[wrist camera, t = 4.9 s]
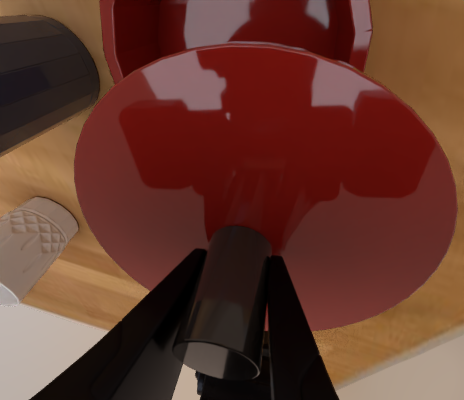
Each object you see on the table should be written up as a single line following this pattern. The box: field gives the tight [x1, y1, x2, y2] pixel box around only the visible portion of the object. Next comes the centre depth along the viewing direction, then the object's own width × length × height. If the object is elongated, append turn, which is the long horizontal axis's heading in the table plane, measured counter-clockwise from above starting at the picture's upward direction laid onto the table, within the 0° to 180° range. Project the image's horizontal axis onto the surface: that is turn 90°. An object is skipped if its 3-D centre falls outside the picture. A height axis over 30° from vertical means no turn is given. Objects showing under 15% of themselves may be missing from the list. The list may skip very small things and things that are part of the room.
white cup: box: [0, 197, 79, 306], centre depth 28 cm, size 8×8×10 cm
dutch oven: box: [99, 0, 373, 85], centre depth 14 cm, size 12×13×6 cm
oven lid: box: [74, 41, 458, 380], centre depth 8 cm, size 13×13×5 cm
